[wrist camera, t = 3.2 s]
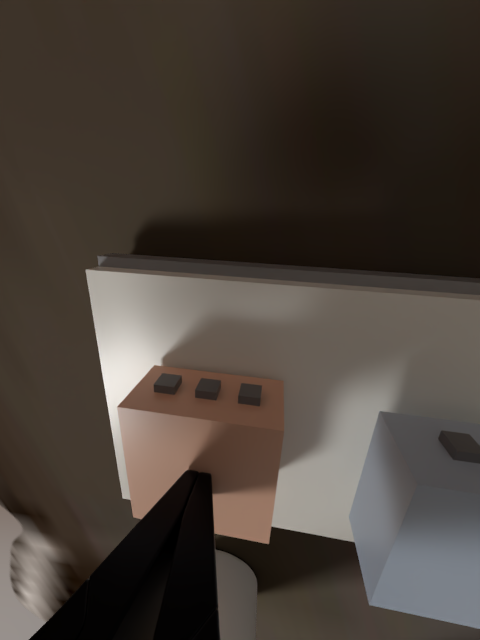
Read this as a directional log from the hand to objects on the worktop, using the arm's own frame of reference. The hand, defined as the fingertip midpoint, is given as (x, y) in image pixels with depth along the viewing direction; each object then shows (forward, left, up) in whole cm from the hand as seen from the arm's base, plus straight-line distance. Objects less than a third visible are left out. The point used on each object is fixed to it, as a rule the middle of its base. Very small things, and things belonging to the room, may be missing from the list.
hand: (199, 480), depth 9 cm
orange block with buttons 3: (0, 0, -3) cm, 3 cm away
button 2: (-8, 0, -1) cm, 8 cm away
